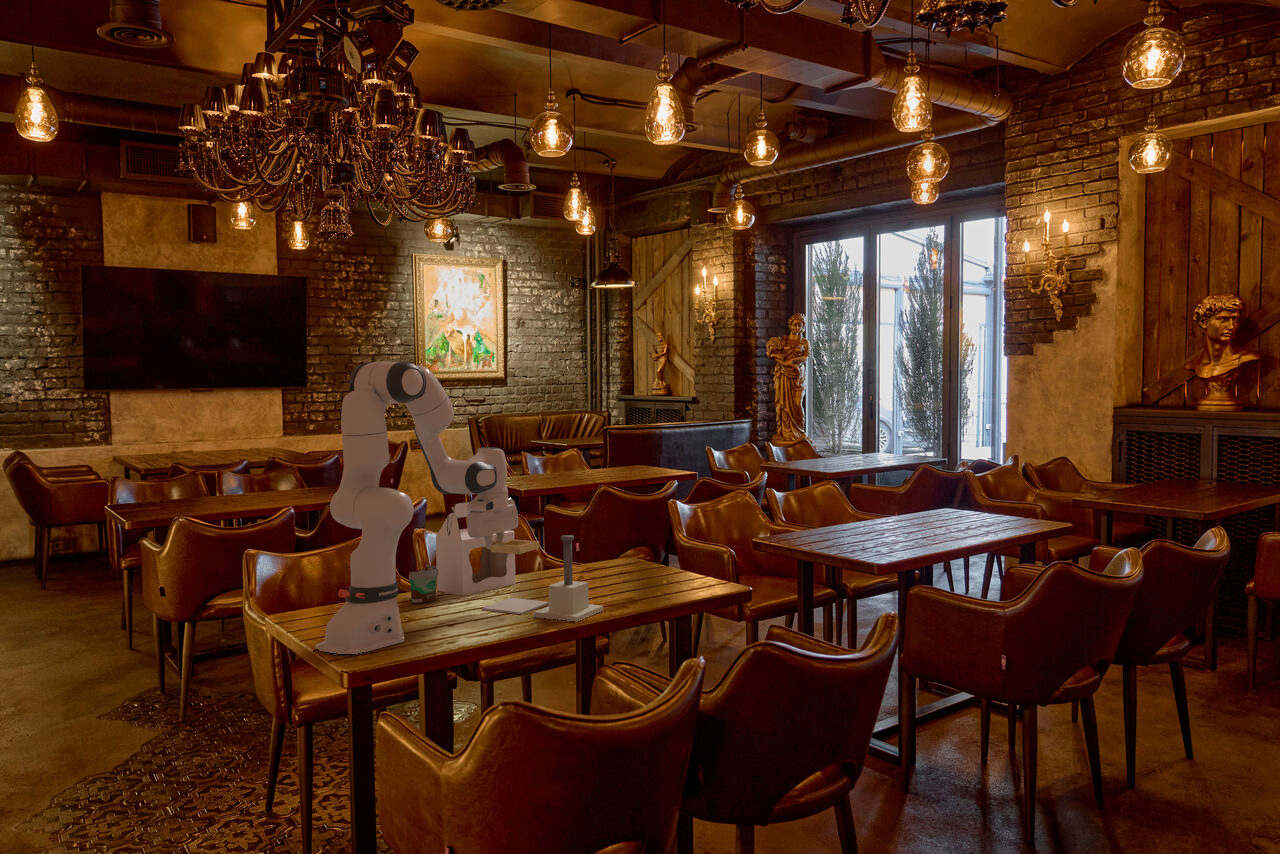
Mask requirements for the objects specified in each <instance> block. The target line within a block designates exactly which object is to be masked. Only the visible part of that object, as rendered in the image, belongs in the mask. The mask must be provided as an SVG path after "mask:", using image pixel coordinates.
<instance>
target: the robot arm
mask: <svg viewBox="0 0 1280 854" xmlns="http://www.w3.org/2000/svg"><path fill="white" fill-rule="evenodd" d="M393 404H404V405H405V407H406V408H407V410H408V411H409V413H410V415H411V418H412V419H413V421H414V426H413V429H414V430H413V431H414V434H415V437H416V440H417V442H418V445H419V447H420V449H421V452H422V454H423V457H424V459H425V462H426V463H427V466H428V468H429V472H430V477H431V481H432V484H433V486H434V488H435V490H436V491H437V492H439V493H441V494H443V495H451V494H452V495H453V494H457V495H458V494H459V495H477V496H475V498H473V499H472V500H471V501H468V502H469V503H468V504H467V511H470V512H469V513H468V516H467V517H466V529H467V531H468V535H469V536H470V537H472V538H480V537H484V539H485V541H486V543H487V549H489V550H491V545H493V544H495V543H493V541H492V538H493V534H495V533H496V535H497V538H496V541H502V540H503V537H504V531H507V530H510V529H513V530H514V529H517V528H518V527H519V526H518V525H519V516H518V515H519V514H518V509H517V506H516V502H515V500H514V499H513V498H511V497H509V494H508V493H509V490H508V486H507V478H508V467H507V459H506V458H507V457H506V455H505V452H504V450H503V449H502V448H499V447H490V446H482V447H479V448H478V450H477V452H476V453H475V454H474V455H473V456H471V457H470V458H468V459H467V460H460V459H459V460H457V459H454V458H452V457H450V456H449V455H448V454H447V452H446V449H445V446H444V444H443V442H442V439H441V437H440V434H441V433H443V432H445V430H446V429H447V428H448V427H449V426H450V425H451V424H452V422H453V419H454V416H455V409H454V407H453V403H452V402H451V400H450V397H449V396H448V394H447V392H446V391H445V389H444V387H443V386H442V384H441V382H440V381H439V379H437V377H436V376H435V374H434V373H432V371H431V370H430V369H429V368H428V367H426V366H423V365H415V364H414V363H410V362H409V361H389V360H382V361H381V360H380V361H374V362H366V363H362V364H360V365H357V366H356V367H355V368H354V369H352V372H351V374H350V377H349V383H348V393H347V394H346V395H345V396H344V398H343V399H342V406H341V415H340V416H341V417H340V418H341V419H340V421H341V422H340V425H341V426H340V427H341V428H340V429H341V440H342V452H343V453H342V454H343V470H342V477H341V481H340V485H339V487H338V489H337V491H336V492H335V493H334V494H333V496H332V497H331V500H330V503H329V511H330V514H331V518H333V519H334V521H336V522H337V523H339V524H341V525H343V526H345V527H346V528H351V529H358V530H361V537H360V539H359V540H360V541H359V544H358V545H357V547H356V548H355V549H354V550H352V552H351V554H350V558H349V561H350V585H349V588H348V590H347V589H343V588H342V589H339V590H338V592H337V596H338V597H339V598H344V599H345V603H344V604H343V605H342V606H341V607H340V608H339V609H338V611H337V612H336V613H335V614H334V616H332V617H331V618H330V619H329V621H328V622H327V623H326V626H325V636H324V641H321V642H319V643H316V644H315V647H314V648H316V649H318V650H321V651H325V652H329V653H337V654H356V655H359V654H358V653H360V654H363V653H362V652H364V653H366V652H370V651H374V650H378V649H382V648H385V647H389V646H393V645H398V644H400V643H404V642H405V633H404V629H403V626H402V621H401V614H400V608H399V604H398V596H399V584H398V583H399V582H398V581H397V579H396V578H397V577H396V576H397V575H396V574H397V573H396V572H397V571H396V569H397V568H396V557H397V548H398V543H399V540H400V538H401V535H402V533H403V531H404V530H405V529H406V527H407V526H408V525H409V524H410V523H411V521H412V520H413V516H414V509H415V508H414V503H413V500H412V499H411V497H410V496H409V495H408V494H406V493H404V492H402V491H400V490H397V489H394V488H391V487H380V478H381V475H382V472H383V471H384V469H385V468H386V467H388V465H389V462H390V449H389V440H388V439H389V438H388V427H387V419H386V409H387V407H388V406H389V405H393ZM316 649H315V650H316ZM318 650H317V651H318ZM329 653H328V654H329ZM337 654H336V655H337Z"/></svg>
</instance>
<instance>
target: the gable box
mask: <svg viewBox="0 0 1280 854" xmlns="http://www.w3.org/2000/svg"><path fill="white" fill-rule="evenodd" d="M469 502H470V501H467V502H459V503H454V506H451V507H450V509H451V511H452V513H449V514H447V517H446V519H445V520H444V522H443V524H442V526H441V528H440V529H439V530H438V533H437V534H436V535H435V553H436V555H435V557H436V559H435V560H436V562H435V563H436V567H437V569H438V572H439V575H437V577H436V592H441V591H442V593H446V594H452V595H455V596H456V595H457V596H461V597H465V595H466V596H469V594H470V595H474V594H477V593H482V592H483V593H484V592H486V591H491V589H492V590H495V589H501V588H504V586H505V587H509V586H513V584H514V585H516V582H517V581H516V554H511V553H498V552H491V550H489V549H487V548H486V541H485V539H484V537H480V538H472V537H470V536H469V535H468V531H467V528H462V529H460V525H459V519H460V518H465V517H466V518H467V516H468V513H469V512H470V511H467V504H468V503H469ZM496 538H497V535H496V533H495V534H493V538H492V541H496ZM511 539H514V540H515V530H514V529H510V530H507V531H504V537H503V540H502V542H504V541H508V540H511ZM477 548H482V549H481V553H480V557H479V563H480V569H479V570H478V572H473V568H472V563H471V561H470V553H471V551H473V550H475V549H477ZM500 587H501V588H500Z"/></svg>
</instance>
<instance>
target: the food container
mask: <svg viewBox="0 0 1280 854" xmlns="http://www.w3.org/2000/svg"><path fill="white" fill-rule="evenodd" d="M437 575H439V572H438V569H437V565H433V564H432V565H431V564H430V565H429V564H425V568H423V569H417V570H416V571H409V575H408V580H409V584H410V587H409V588H410V597H411V605H412V606H420V605H428V604H432V603H434V602H436V598H437V597H436V595H437Z"/></svg>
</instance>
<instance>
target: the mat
mask: <svg viewBox="0 0 1280 854" xmlns="http://www.w3.org/2000/svg"><path fill="white" fill-rule="evenodd" d="M545 605H546V606H547V605H548V606H549V601H543V600H542V601H541V600H537V599H525V598H517V597H516V598H515V597H509V598H506V599H504V600H503V599H502V600H501V601H498V602H495V603H492V604H489V605H487V606H483V607H481V610H482V611H489V612H496V613H505V614H514V615H524V614H527V613H530V612H532V611H536V610H537V609H538V610H539V609H540V608H541V609H542V607H545Z"/></svg>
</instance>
